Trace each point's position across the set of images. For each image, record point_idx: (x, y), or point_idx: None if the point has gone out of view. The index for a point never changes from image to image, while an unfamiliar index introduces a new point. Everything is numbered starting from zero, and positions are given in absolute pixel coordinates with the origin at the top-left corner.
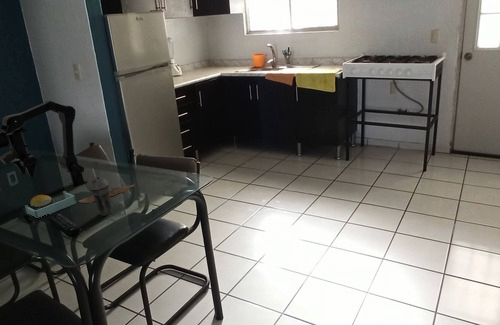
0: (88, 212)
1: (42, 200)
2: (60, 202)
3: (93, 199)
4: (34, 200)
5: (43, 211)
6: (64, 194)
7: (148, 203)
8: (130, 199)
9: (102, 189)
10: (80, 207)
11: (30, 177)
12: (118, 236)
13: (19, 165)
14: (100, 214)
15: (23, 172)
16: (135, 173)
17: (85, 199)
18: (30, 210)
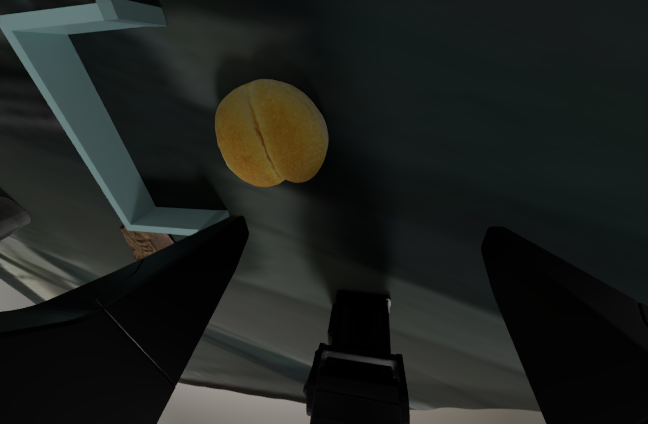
0: (41, 189)
1: (217, 138)
2: (94, 169)
3: (140, 247)
4: (255, 109)
5: (51, 74)
6: (203, 224)
7: (40, 277)
8: (87, 279)
9: None
10: (101, 198)
11: (239, 215)
12: None
13: (626, 388)
14: (5, 198)
15: (496, 259)
16: (270, 369)
17: (162, 239)
18: (53, 10)
